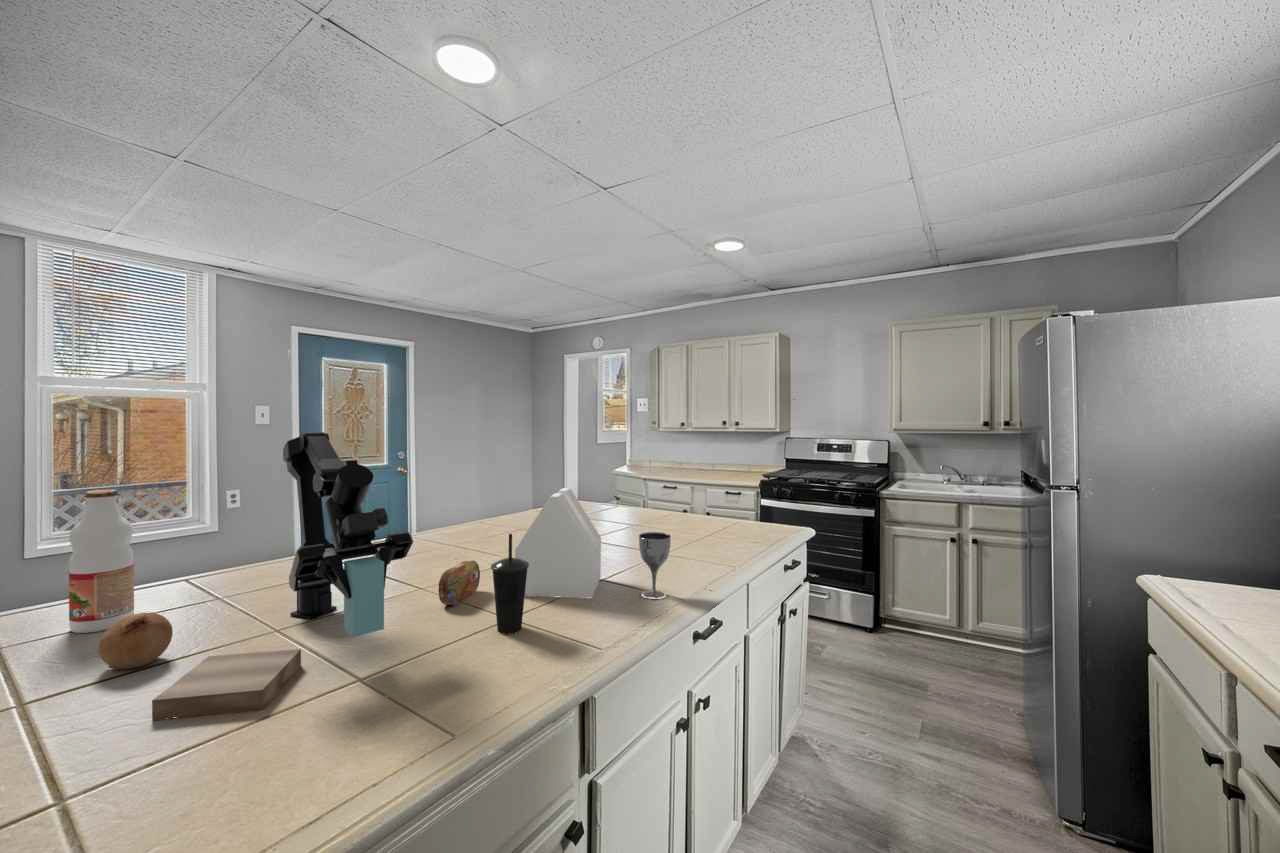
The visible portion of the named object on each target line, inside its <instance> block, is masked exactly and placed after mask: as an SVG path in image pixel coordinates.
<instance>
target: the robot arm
mask: <svg viewBox="0 0 1280 853" xmlns="http://www.w3.org/2000/svg"><path fill="white" fill-rule="evenodd" d="M282 456H283V457H282V458H283V462H285V463H286V469H287V472H288V473H289V475H291V476H292V477H293V478H294V480H295V481H296V488H297V499H298V500H297V501H298V510H299V511H298V512H299V522H300V524H299V525H300V534H301V544H300V547H299V548H298V549H297V550H296V552H295V555H294V559H293V562H292V566H291V570H290V573H289V576H288V582H289V588H291V590H292V591H293V592H295V593H296V610H295V611H292V612H290V614H289V615H290V616H292V617H297V618H303V619H310V620H313V619H316V618H317V617H320V616H322V615H325V614H328V613H330V612H333V611H335V610H337V609H338V608H337V606H335V605H333V604H332V600H333V598H332V596H333V595H332V594H333V593H332V590H331V588H332V585H333V586H335V588H336V589H337V590H338V591H339V592H340V593H341V594H342V595H343V597H344V596H345V597H346V598H347V599H350V598H351V590H350V586H349V583H348V580H347V577H346V574H345V571H344V562H343V561H346V560H352V559H358V558H364V557H370V556H375V557H377V558H379V559H380V560H382V561H384V590H385V588H386V576H387V569H388V565H390V564H391V562H392V561H396V560H402V559H404V558H406V557H407V555H408V553H409V551H410V550H411V547H412V545H413V543H414V540H413V537H412V534H410V532H407V531H402V532H395V533H394V532H393V533H387V535H386V538H385V539H384V540H385V541H384V542H383V541H382V542H378V543H377V542H376V543H372V540H375V539H376V533H375V531H378V530H380V529H379V528H384V527H385V526H386V525H388V524H389V518H388V514H387V511H386V509H385V507H380V508H375V509H374V510H372V511H369V512H364V511H363V509H362V505H361V504H362V503H364V502H365V501H366V498H367V497H368V496H367V495H368V493H369V490H370V488H371V485H372V484H373V480H374V472H373V471H371V470H370V469H369V468H368V467H366V466H365V465H362V464H359V463H358V460H357V459H356V460H355V459H353V460H342V459H341V458H340V457H339V456H338V453H337V452H336V450H335V448H334V447H333V445H332V444H331V442H330V435H329V433H327V432H324V431H313V432H312V431H311V432H310V431H308V432H304V433H300V435H299V436H297V437H295V438H292V439H290V440H288V441H286V443H285V445H284V446H283V449H282ZM322 498H328V499H327V500H326V502H325V509H326V517H328V521H329V527H330V530H331V536H330V537H331V541H333V542H334V543H331V542H329V540H328V539H327V538H326V531H325V520H324V509H323V499H322Z"/></svg>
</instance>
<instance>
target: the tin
mask: <svg viewBox="0 0 1280 853" xmlns="http://www.w3.org/2000/svg"><path fill="white" fill-rule="evenodd" d="M480 579H481V570H480V567H479V563H477V561H476V560H465V561H464V560H463V561H461V562H460V563H457V564H456V565H454V566H452V567H450V568H449V569H446V570H445V571H444V572H443V573H442V574H441V576H440V578H439V582H438V596H439V597H438V598H439V599H438V600H439V602H441V603H442V605H445V606H453V607H454V606H457V605H459V604H461V603H462V602H463V601H465V600H467V599H469V597H471V596H473V595H474V594H475V593H476V591H477V590H478V587H479V584H480Z"/></svg>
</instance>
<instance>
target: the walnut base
mask: <svg viewBox="0 0 1280 853" xmlns="http://www.w3.org/2000/svg"><path fill="white" fill-rule="evenodd" d="M301 667H302V649H301V648H296V649H295V648H294V649H284V650H282V649H281V650H270V651H269V650H268V651H258V652H257V651H256V652H245V653H234V654H233V653H231V654H219V655H209V656H207V657H206V658H205V659H203V660H202V661H201V662H200V663H198V664H197V665H195V666H194V667H193V668H192V669H190V670H189V671H188V672H186V673H185V674H184V675H183V676H181V677H180V678H179V679H178V680H176V681H175V682H174V683H172V684H171V685H170V686H169V687H167V688H166V689H164V691H162V692H161V693H160V694H158V695H157V696H156V697H154V698H153V699H152V700H151V713H152V714H151V717H152V718H151V721H152V720H155V721H160V720H159V719H165V720H167V719H166V718H173V717H185V718H190V717H189V716H195V717H199V716H198V715H204V716H212V715H211V714H214V715H223V714H231V713H233V714H234V713H242V712H243V713H244V712H252V711H262V710H264V709H265V708H266V707H267V705H268V704H269V703H270V702H271V700H272V699H273V698H274V697H276V695H277V694H278V693H279V692H280V690H281V689H282V688H283V687H284V685H285V684H287V682H288V681H289V680H290V679H291V678H292V677H293V676H294V675H295V673H296V672H297V670H299V669H300V668H301ZM298 668H299V669H298ZM209 714H210V715H209ZM196 715H197V716H196Z"/></svg>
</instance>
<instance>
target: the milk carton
mask: <svg viewBox="0 0 1280 853" xmlns="http://www.w3.org/2000/svg"><path fill="white" fill-rule="evenodd" d="M601 552H602V537H601V535H600V534H599V531H597V528H596V527H595V526H594V524H593V522H592V521H591V518H590V517H589V516H588V514H587V513H586V511H585V510H584V508H583V506H582V504H581V502H580V501H579V500H578V498H577V497H576V495H575V493H574V491H573V490H572V489H571V487H563V488H561V489H560V490H558V491H557V492H555V493H553V494H552V495H549V497H548V499H547V501H546V502H545V503H544V505H543V506H542V508H541V509H540V511H539V512H538V514H537V516H536V517H535V519H534V520H533V522H532V523H531V525H530V526H529V528H528V530H527V531H526V533H525V534H524V536H522V538H521V540H520V542H519V543H518V545H517V547H516V548H515V549H514V558H518V559H521V560H524V561H527V562H528V563H529V567H528V568H527V577H526V587H525V595H526V596H525V597H536V596H565V597H566V596H567V597H592V598H593V596H594V594H595V592H596V590H597V588H598V586H597V584H598V585H599V583H600V581H601V579H600V578H601V577H602V576H601V573H602V572H601V569H602V568H601V564H602V561H601V560H602V558H601V557H602V556H601V555H602V553H601ZM599 580H600V581H599ZM598 582H599V583H598ZM596 587H597V588H596ZM595 589H596V590H595ZM594 591H595V592H594ZM593 593H594V594H593ZM592 595H593V596H592Z"/></svg>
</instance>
